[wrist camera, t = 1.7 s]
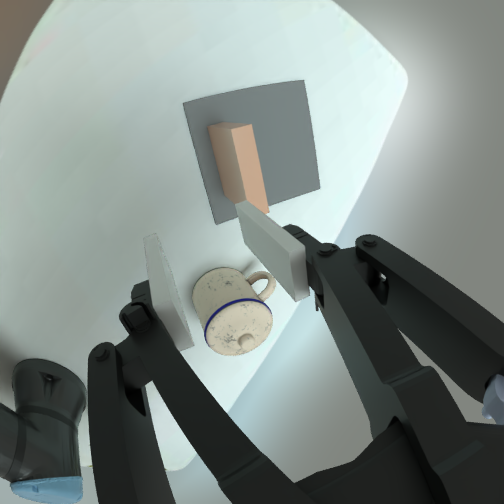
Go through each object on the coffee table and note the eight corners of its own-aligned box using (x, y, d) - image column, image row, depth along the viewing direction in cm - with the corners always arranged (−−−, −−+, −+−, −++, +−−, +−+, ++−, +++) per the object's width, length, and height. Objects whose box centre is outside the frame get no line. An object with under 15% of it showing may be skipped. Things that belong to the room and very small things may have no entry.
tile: (224, 195, 36) (251, 218, 28) (207, 126, 31) (230, 129, 23) (239, 190, 36) (270, 212, 29) (223, 121, 31) (252, 124, 24)
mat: (215, 223, 37) (216, 224, 37) (182, 103, 29) (183, 103, 29) (318, 188, 41) (320, 188, 41) (302, 80, 32) (304, 80, 32)
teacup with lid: (217, 325, 45) (242, 378, 35) (177, 296, 40) (195, 353, 30) (273, 275, 45) (312, 320, 35) (239, 238, 40) (276, 282, 30)
